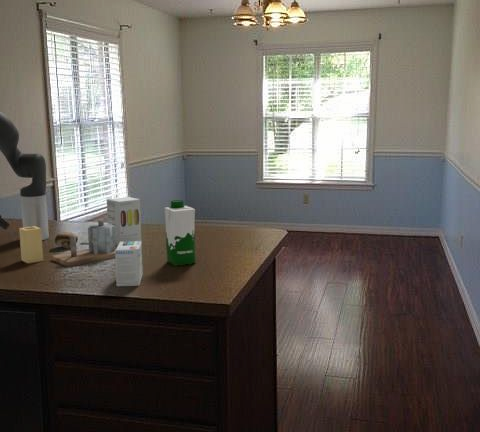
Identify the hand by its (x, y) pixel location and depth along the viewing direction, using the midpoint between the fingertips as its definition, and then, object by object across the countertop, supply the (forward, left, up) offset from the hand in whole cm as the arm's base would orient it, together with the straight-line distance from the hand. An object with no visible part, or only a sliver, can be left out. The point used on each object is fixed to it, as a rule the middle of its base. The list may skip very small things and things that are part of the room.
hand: (2, 225), depth 181 cm
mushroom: (-10, +26, -13) cm, 31 cm away
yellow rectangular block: (0, +9, -13) cm, 16 cm away
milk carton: (+37, +43, -13) cm, 58 cm away
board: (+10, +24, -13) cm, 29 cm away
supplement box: (-1, +45, -13) cm, 47 cm away
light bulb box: (+43, +20, -13) cm, 49 cm away
